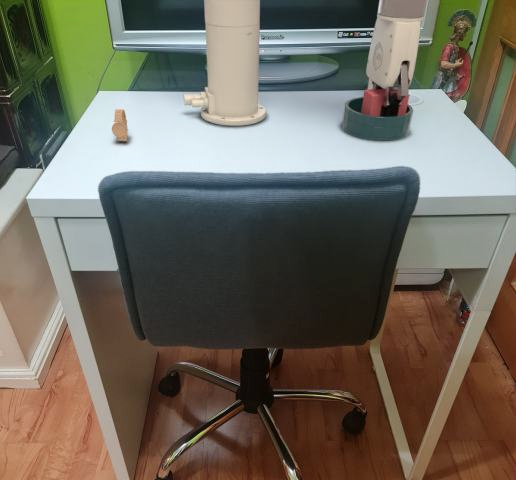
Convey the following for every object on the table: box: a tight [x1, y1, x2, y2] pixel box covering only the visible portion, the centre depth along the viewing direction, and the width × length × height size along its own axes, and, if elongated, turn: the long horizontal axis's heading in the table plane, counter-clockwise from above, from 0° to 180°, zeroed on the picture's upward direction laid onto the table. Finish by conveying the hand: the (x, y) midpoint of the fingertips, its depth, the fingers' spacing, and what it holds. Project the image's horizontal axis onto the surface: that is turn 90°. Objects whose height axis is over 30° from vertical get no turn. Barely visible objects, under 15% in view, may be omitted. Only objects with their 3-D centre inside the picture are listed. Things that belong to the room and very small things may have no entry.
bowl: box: [341, 96, 414, 142], centre depth 94 cm, size 12×12×4 cm
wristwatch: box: [111, 108, 129, 142], centre depth 86 cm, size 3×5×5 cm, turn 5°
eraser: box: [361, 89, 410, 116], centre depth 93 cm, size 7×4×6 cm, turn 102°
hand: (381, 123), depth 95 cm, fingers closed on eraser, 4 cm apart
